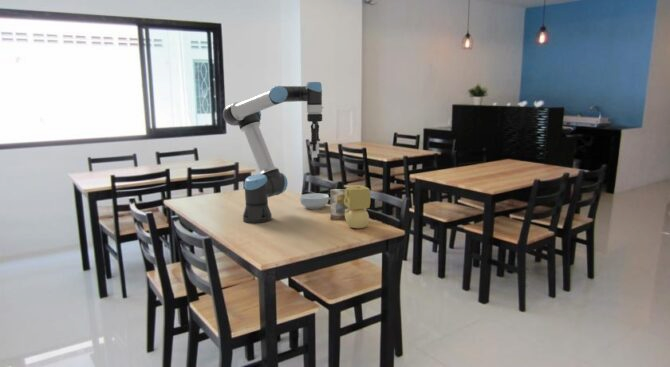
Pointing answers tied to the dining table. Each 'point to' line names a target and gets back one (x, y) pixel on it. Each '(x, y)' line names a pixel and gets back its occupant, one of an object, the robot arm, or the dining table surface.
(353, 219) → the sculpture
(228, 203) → the dining table surface
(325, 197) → the cereal bowl
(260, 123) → the robot arm
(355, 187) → the cheese
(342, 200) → the stand
